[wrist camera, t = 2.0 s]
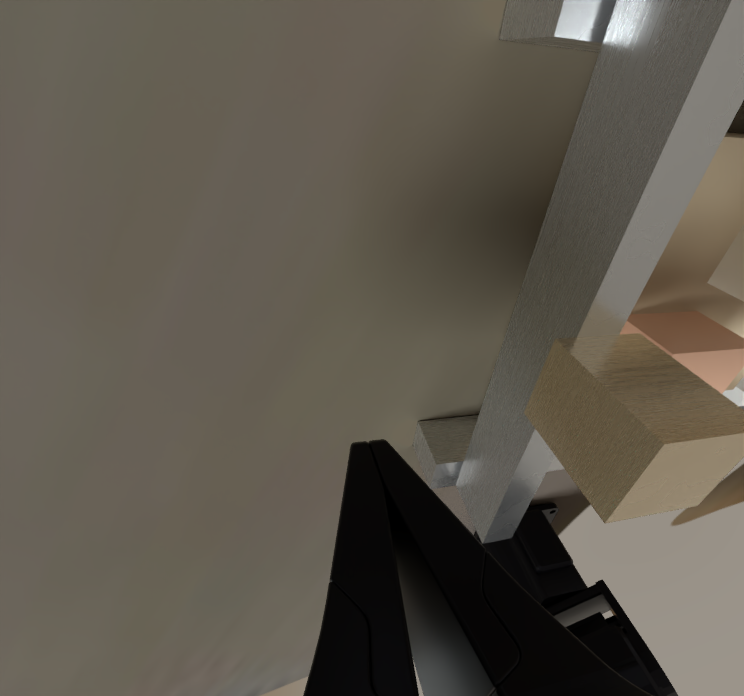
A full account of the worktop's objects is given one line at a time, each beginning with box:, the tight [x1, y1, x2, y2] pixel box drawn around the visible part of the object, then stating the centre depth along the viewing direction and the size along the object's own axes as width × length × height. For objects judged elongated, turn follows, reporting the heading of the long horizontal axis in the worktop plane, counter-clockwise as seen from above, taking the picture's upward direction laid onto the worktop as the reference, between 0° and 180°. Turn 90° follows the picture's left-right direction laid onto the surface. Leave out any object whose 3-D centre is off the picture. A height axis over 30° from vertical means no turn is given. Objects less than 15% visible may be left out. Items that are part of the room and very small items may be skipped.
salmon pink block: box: [620, 311, 744, 394], centre depth 19 cm, size 4×4×3 cm
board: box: [631, 132, 744, 390], centre depth 19 cm, size 13×15×2 cm
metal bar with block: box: [456, 0, 744, 544], centre depth 12 cm, size 20×3×7 cm, turn 175°
